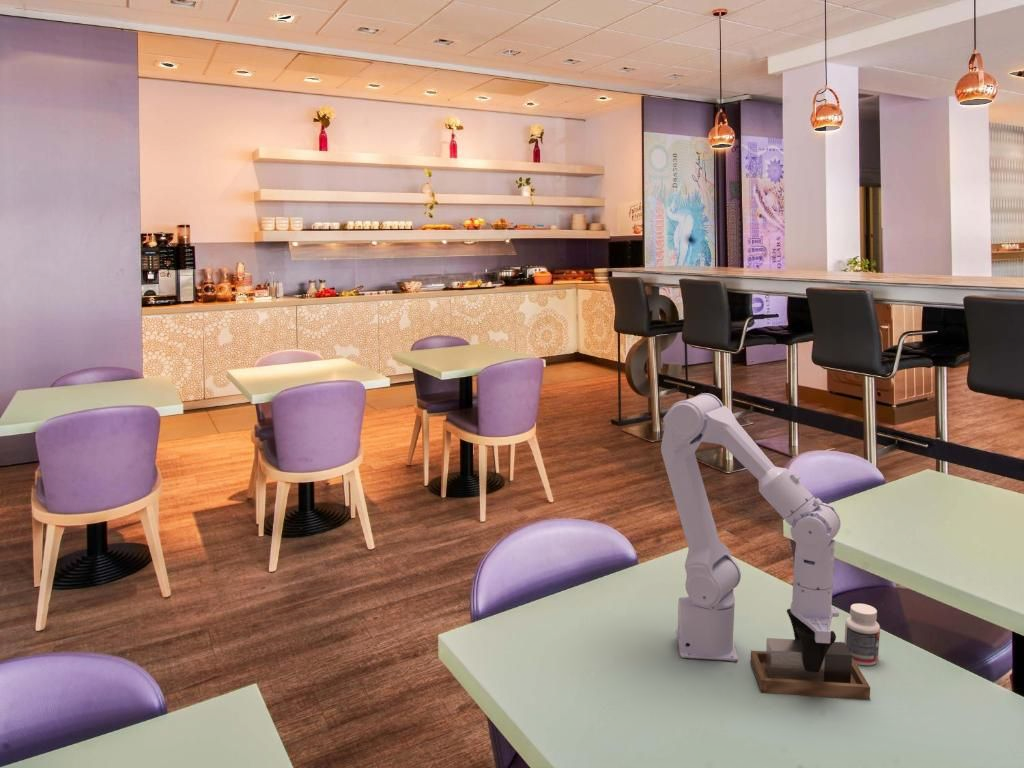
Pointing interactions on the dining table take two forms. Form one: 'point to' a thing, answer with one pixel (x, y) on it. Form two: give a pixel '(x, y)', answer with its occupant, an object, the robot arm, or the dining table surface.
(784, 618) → the dining table surface
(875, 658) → the pill bottle
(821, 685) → the walnut tray
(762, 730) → the dining table surface
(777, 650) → the low gray brick
